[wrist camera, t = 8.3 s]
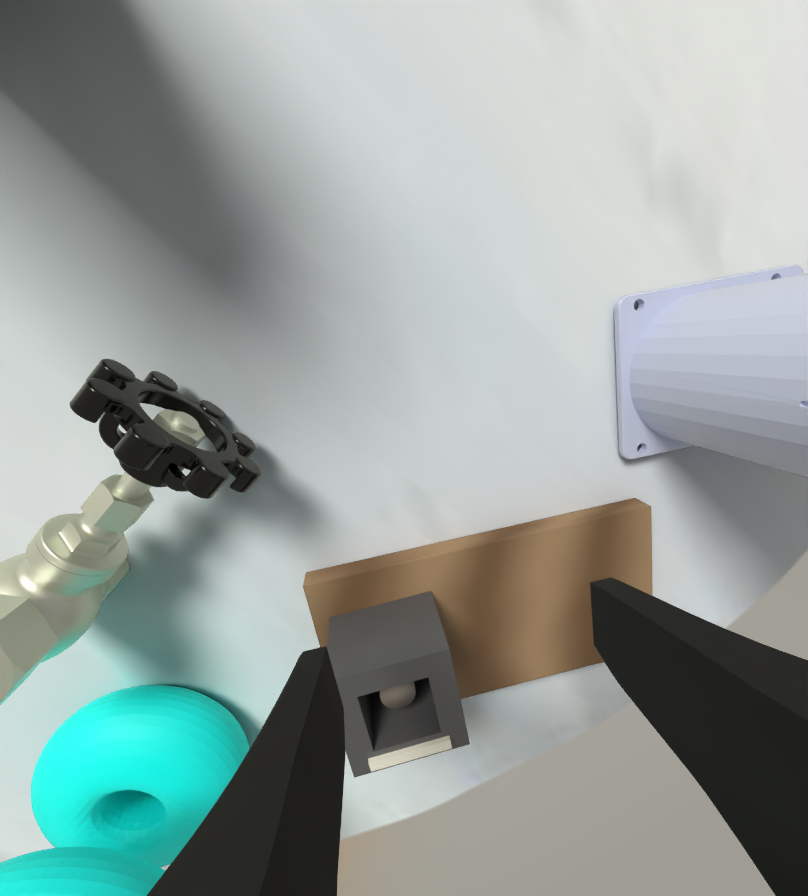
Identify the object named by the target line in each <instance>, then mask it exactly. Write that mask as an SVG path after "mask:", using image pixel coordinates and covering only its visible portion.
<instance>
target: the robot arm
mask: <svg viewBox="0 0 808 896" xmlns="http://www.w3.org/2000/svg"><path fill="white" fill-rule="evenodd" d="M771 278H772V279H773V280H771ZM635 301H637V302H638V309H637V310H635V309H634V303H635ZM614 320H615V349H616V377H617V406H618V434H619V452H620V455H621V456H622V457H624V458H627V459H636V458H641V457H645V456H650V455H654V454H659V453H664V452H668V451H673V450H677V449H682V448H686V447H691V446H698V447H702V448H705V449H709V450H712V451H716V452H719V453H723V454H726V455H730V456H734V457H737V458H741V459H744V460H748V461H751V462H755V463H758V464H762V465H765V466H769V467H772V468H776V469H779V470H783V471H786V472H790V473H793V474H797V475H800V476H804V477H807V478H808V274H804V275H803V269H802V267H801V266H799V265H791V266H785V267H780V268H775V269H769V270H764V271H758V272H753V273H748V274H742V275H737V276H732V277H726V278H721V279H715V280H710V281H705V282H699V283H694V284H688V285H683V286H678V287H672V288H667V289H661V290H656V291H651V292H645V293H640V294H634V295H629V296H624V297H621V298H619V299H618V300H617V302H616V304H615V307H614ZM639 444H641V448H640V450H638V451H637V447H638V446H639ZM590 591H591V607H592V623H593V640H594V646H595V647H596V649H597V650H598V652H599V654H600V655H601V657H602V659H603V660H604V662H605V663H606V665H607V667H608V668H609V670H610V671H611V673H612V674H613V676H614V677H615V679H616V680H617V682H618V683H619V684H620V686H621V687H622V688H623V689H624V691H625V692H626V693H627V694H628V696H629V697H630V698H631V699H632V701H633V702H634V703H635V705H636V706H637V707H638V708H639V709H640V711H641V712H642V713H643V714H644V716H645V717H646V718H647V719H648V721H649V722H650V723H651V724H652V726H653V727H654V728H655V729H656V730H657V732H658V733H659V734H660V735H661V737H662V738H663V739H664V740H665V742H666V743H667V744H668V745H669V747H670V748H671V749H672V750H673V752H674V753H675V754H676V755H677V756H678V758H679V759H680V760H681V761H682V763H683V764H684V765H685V766H686V768H687V769H688V770H689V771H690V773H691V774H692V775H693V776H694V778H695V779H696V781H697V782H698V783H699V785H700V786H701V787H702V788H703V790H704V791H705V792H706V794H707V795H708V797H709V798H710V799H711V801H712V802H713V804H714V805H715V806H716V808H717V810H718V811H719V812H720V814H721V815H722V817H723V818H724V820H725V821H726V822H727V824H728V825H729V827H730V828H731V830H732V831H733V833H734V834H735V836H736V837H737V838H738V840H739V841H740V843H741V844H742V846H743V847H744V849H745V850H746V852H747V853H748V855H749V856H750V858H751V859H752V861H753V862H754V864H755V865H756V867H757V868H758V870H759V871H760V873H761V874H762V876H763V877H764V879H765V880H766V882H767V883H768V885H769V886H770V888H771V889H772V891H773V892H774V894H775V895H776V896H808V660H805V659H802V658H799V657H797V656H794V655H791V654H788V653H785V652H782V651H779V650H777V649H774V648H772V647H769V646H766V645H763V644H761V643H758V642H756V641H753V640H751V639H749V638H746V637H744V636H741V635H739V634H736V633H734V632H731V631H729V630H727V629H724V628H722V627H720V626H717V625H715V624H713V623H710V622H708V621H706V620H703V619H701V618H699V617H697V616H695V615H692V614H690V613H688V612H686V611H684V610H681V609H679V608H677V607H675V606H673V605H671V604H668V603H666V602H664V601H662V600H660V599H658V598H656V597H654V596H651V595H649V594H647V593H645V592H643V591H641V590H639V589H637V588H634V587H632V586H630V585H628V584H626V583H624V582H621V581H619V580H617V579H614V578H612V577H610V578H606V579H602V580H598V581H593V582H590ZM344 767H345V727H344V707H343V704H342V700H341V697H340V693H339V689H338V686H337V682H336V679H335V675H334V671H333V668H332V664H331V661H330V657H329V653H328V650H327V646H325V647H321V648H317V649H313V650H308V651H304V652H303V653H302V654H301V655H300V657H299V659H298V661H297V663H296V665H295V667H294V669H293V671H292V673H291V675H290V677H289V679H288V681H287V683H286V685H285V687H284V689H283V691H282V692H281V694H280V696H279V698H278V700H277V702H276V704H275V706H274V707H273V709H272V711H271V713H270V715H269V716H268V718H267V720H266V722H265V724H264V725H263V727H262V729H261V731H260V733H259V734H258V736H257V738H256V740H255V741H254V743H253V744H252V746H251V748H250V749H249V751H248V753H247V754H246V756H245V758H244V759H243V761H242V762H241V764H240V766H239V767H238V769H237V771H236V772H235V774H234V776H233V777H232V779H231V780H230V782H229V783H228V785H227V786H226V788H225V789H224V791H223V792H222V794H221V795H220V797H219V798H218V800H217V801H216V803H215V804H214V806H213V807H212V809H211V810H210V811H209V813H208V814H207V816H206V817H205V819H204V820H203V821H202V823H201V824H200V826H199V827H198V829H197V830H196V831H195V833H194V834H193V835H192V837H191V838H190V839H189V841H188V842H187V843H186V845H185V846H184V847H183V849H182V850H181V851H180V853H179V854H178V855H177V857H176V858H175V859H174V861H173V862H172V863H171V865H170V866H169V867H168V869H167V870H166V871H165V872H164V874H163V875H162V876H161V878H160V879H159V880H158V881H157V883H156V884H155V885H154V887H153V888H152V889H151V890H150V892H149V893H148V894H147V896H337V873H338V858H339V843H340V828H341V813H342V798H343V783H344Z"/></svg>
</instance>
